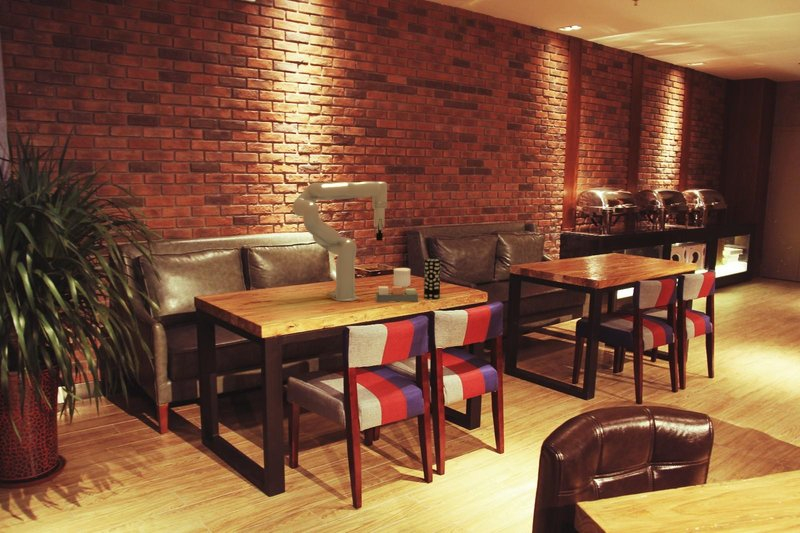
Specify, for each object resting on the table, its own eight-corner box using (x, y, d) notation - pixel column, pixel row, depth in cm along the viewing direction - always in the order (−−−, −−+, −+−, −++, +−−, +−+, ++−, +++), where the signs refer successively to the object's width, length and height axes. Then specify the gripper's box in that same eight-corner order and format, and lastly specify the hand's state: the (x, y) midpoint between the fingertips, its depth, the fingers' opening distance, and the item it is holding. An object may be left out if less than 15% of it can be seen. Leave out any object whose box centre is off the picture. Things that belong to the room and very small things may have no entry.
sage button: (406, 300, 327) (406, 290, 326) (405, 298, 331) (405, 288, 331) (415, 299, 327) (415, 290, 326) (414, 297, 332) (414, 288, 331)
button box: (376, 302, 324) (377, 295, 324) (376, 299, 331) (376, 292, 330) (417, 301, 326) (418, 295, 326) (416, 299, 333) (416, 292, 333)
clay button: (392, 297, 326) (392, 288, 325) (391, 295, 330) (391, 286, 330) (402, 297, 326) (402, 287, 326) (401, 295, 331) (401, 286, 330)
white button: (378, 297, 325) (378, 288, 324) (378, 296, 330) (378, 286, 329) (388, 297, 326) (388, 288, 325) (387, 295, 330) (387, 286, 329)
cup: (391, 286, 365) (391, 269, 364) (396, 283, 375) (396, 267, 373) (407, 288, 363) (407, 270, 361) (412, 284, 372) (412, 268, 371)
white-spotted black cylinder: (438, 299, 332) (439, 261, 329) (422, 299, 333) (423, 260, 330) (440, 296, 340) (441, 259, 337) (425, 295, 341) (425, 258, 338)
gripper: (371, 204, 342) (371, 238, 345) (373, 206, 327) (373, 242, 330) (385, 204, 343) (385, 238, 346) (388, 206, 328) (387, 242, 331)
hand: (379, 240), depth 338 cm, fingers closed
